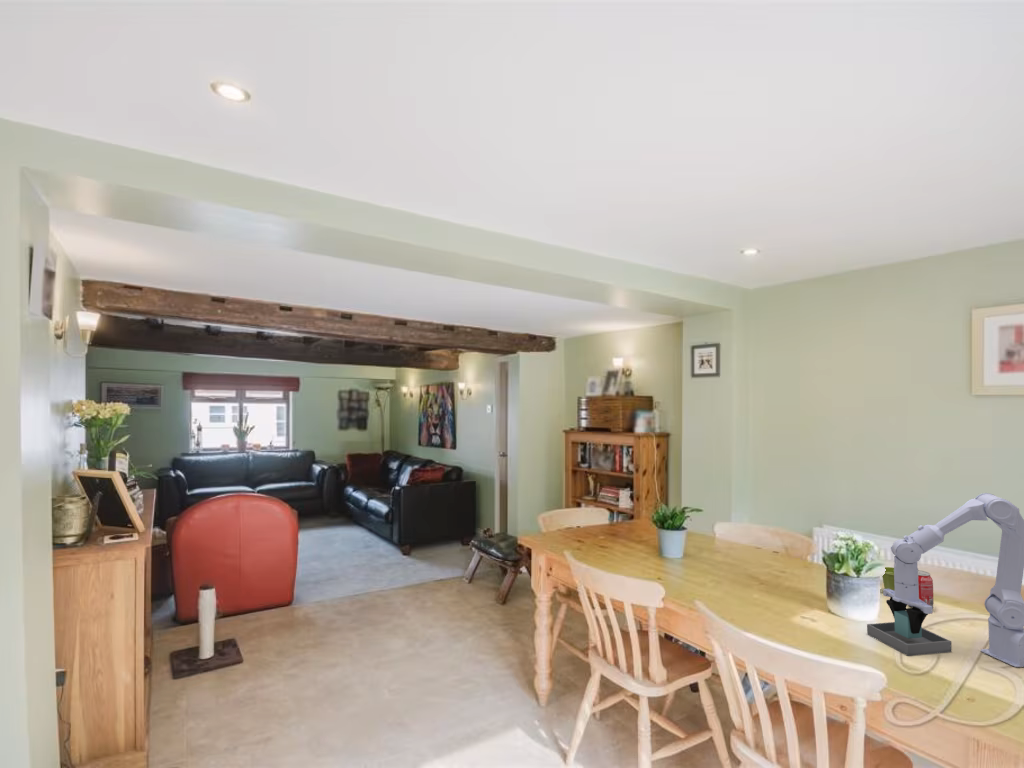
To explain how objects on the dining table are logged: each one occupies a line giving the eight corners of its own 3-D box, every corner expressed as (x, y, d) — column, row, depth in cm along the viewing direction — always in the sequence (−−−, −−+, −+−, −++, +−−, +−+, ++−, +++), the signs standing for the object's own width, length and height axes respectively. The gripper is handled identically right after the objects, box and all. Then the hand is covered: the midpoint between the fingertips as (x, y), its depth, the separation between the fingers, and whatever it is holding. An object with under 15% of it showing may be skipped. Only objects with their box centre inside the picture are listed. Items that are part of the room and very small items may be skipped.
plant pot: (917, 600, 189) (916, 575, 190) (887, 598, 191) (886, 574, 192) (903, 591, 199) (902, 567, 199) (875, 589, 201) (874, 566, 201)
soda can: (908, 602, 188) (907, 567, 188) (934, 607, 183) (933, 571, 184) (907, 608, 182) (906, 573, 183) (933, 613, 178) (932, 577, 178)
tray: (951, 652, 151) (951, 641, 151) (907, 655, 149) (907, 644, 149) (907, 630, 165) (907, 621, 165) (867, 634, 163) (867, 624, 163)
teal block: (921, 637, 155) (921, 616, 155) (908, 638, 155) (907, 617, 155) (908, 630, 160) (907, 610, 160) (894, 631, 159) (894, 611, 159)
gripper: (873, 575, 164) (875, 620, 164) (916, 591, 150) (917, 641, 149) (894, 573, 165) (895, 618, 165) (938, 590, 151) (939, 639, 150)
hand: (907, 629), depth 157 cm, fingers closed on teal block, 4 cm apart
